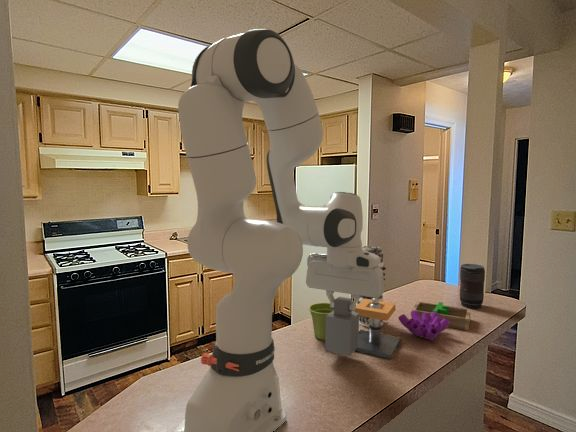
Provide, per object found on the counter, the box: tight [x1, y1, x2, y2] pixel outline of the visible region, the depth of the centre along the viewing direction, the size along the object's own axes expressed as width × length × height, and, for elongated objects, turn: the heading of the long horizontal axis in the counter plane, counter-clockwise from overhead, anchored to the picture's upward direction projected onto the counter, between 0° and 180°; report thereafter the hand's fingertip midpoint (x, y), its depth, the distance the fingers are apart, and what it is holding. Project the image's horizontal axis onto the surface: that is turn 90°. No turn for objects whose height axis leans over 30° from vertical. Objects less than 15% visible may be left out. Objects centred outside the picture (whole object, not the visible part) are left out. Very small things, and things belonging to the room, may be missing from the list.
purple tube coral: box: [398, 310, 450, 340], centre depth 109 cm, size 11×15×10 cm
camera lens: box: [459, 263, 486, 310], centre depth 134 cm, size 8×8×15 cm
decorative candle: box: [356, 245, 387, 328], centre depth 119 cm, size 9×9×25 cm
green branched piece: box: [433, 301, 450, 315], centre depth 121 cm, size 10×4×4 cm, turn 147°
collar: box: [354, 299, 396, 322], centre depth 102 cm, size 9×9×2 cm
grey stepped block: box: [324, 296, 360, 357], centre depth 94 cm, size 7×7×13 cm
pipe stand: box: [354, 298, 402, 360], centre depth 102 cm, size 12×12×14 cm
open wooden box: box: [410, 301, 472, 331], centre depth 121 cm, size 10×17×4 cm, turn 61°
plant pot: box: [308, 302, 334, 341], centre depth 109 cm, size 9×9×9 cm
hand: (342, 309), depth 94 cm, fingers closed on grey stepped block, 3 cm apart
